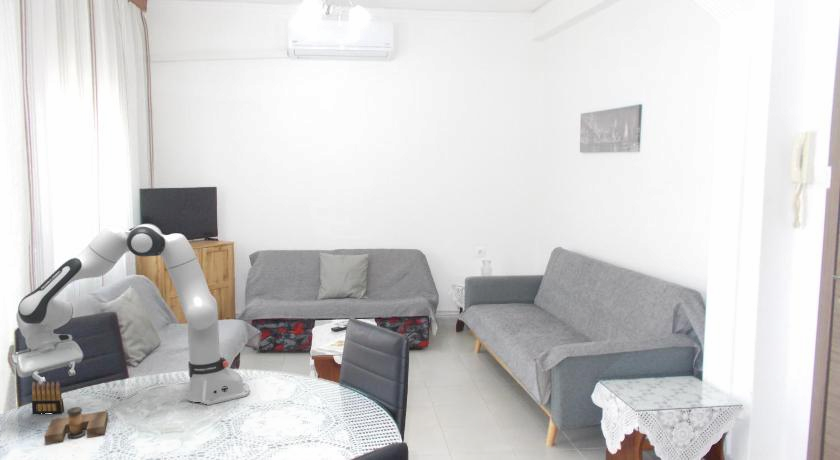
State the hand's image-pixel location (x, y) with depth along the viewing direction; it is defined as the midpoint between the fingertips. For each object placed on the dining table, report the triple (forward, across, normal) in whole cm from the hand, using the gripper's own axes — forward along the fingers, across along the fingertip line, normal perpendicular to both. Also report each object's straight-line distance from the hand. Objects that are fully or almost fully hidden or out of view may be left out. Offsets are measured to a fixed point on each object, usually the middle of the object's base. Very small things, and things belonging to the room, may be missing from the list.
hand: (58, 378), depth 213 cm
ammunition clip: (+2, +2, +23) cm, 23 cm away
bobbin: (+21, -1, +2) cm, 21 cm away
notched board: (+19, +1, +4) cm, 19 cm away
